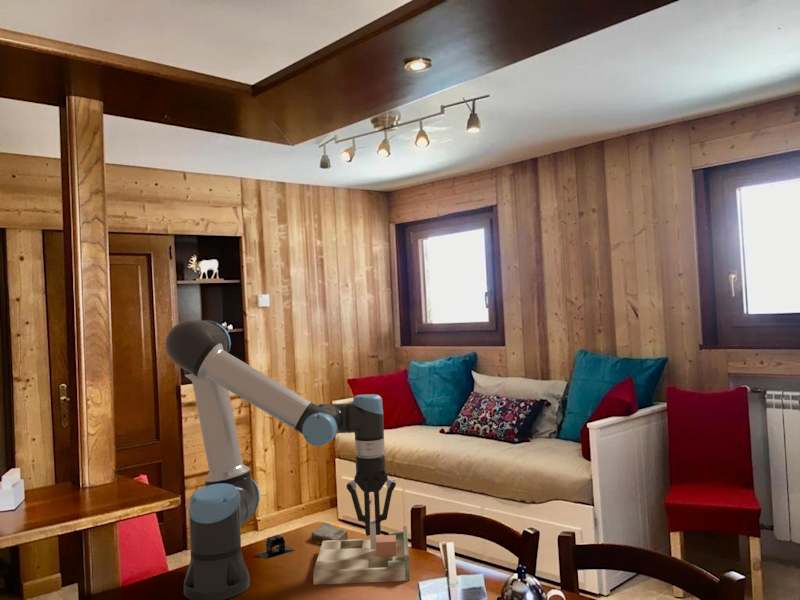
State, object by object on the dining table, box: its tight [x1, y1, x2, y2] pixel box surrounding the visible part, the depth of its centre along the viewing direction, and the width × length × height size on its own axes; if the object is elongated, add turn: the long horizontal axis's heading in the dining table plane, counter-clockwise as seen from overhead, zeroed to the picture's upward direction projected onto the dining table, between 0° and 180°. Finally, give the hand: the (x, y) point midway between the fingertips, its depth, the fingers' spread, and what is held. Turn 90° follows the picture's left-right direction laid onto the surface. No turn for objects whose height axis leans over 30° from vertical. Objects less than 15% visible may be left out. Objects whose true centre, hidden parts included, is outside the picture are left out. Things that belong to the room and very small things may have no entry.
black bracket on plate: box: [255, 534, 296, 560], centre depth 180 cm, size 12×7×5 cm, turn 130°
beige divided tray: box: [312, 525, 411, 586], centre depth 168 cm, size 23×22×6 cm
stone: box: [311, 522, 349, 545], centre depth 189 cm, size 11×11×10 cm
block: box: [376, 534, 396, 556], centre depth 168 cm, size 5×5×4 cm
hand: (373, 547), depth 168 cm, fingers closed
